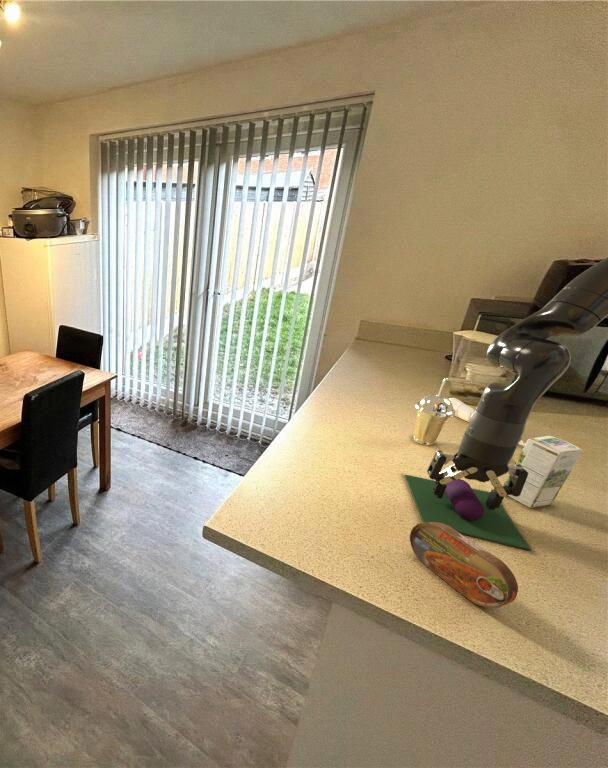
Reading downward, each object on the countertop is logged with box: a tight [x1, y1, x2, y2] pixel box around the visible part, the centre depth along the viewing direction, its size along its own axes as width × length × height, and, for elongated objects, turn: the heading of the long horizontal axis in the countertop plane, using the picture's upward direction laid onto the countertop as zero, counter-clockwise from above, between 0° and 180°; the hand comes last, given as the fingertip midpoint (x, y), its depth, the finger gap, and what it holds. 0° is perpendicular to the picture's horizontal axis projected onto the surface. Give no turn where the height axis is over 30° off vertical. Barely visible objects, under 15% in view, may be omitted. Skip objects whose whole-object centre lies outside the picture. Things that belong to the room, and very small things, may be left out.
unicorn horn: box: [448, 397, 526, 447], centre depth 113 cm, size 5×24×5 cm, turn 4°
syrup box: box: [503, 435, 584, 509], centre depth 83 cm, size 6×6×14 cm
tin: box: [409, 522, 519, 609], centre depth 66 cm, size 15×3×8 cm, turn 13°
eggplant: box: [445, 478, 484, 520], centre depth 83 cm, size 4×13×4 cm, turn 154°
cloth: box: [404, 474, 531, 552], centre depth 83 cm, size 16×18×1 cm
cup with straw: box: [412, 377, 474, 446], centre depth 104 cm, size 8×9×20 cm
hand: (462, 501), depth 83 cm, fingers open, 8 cm apart
